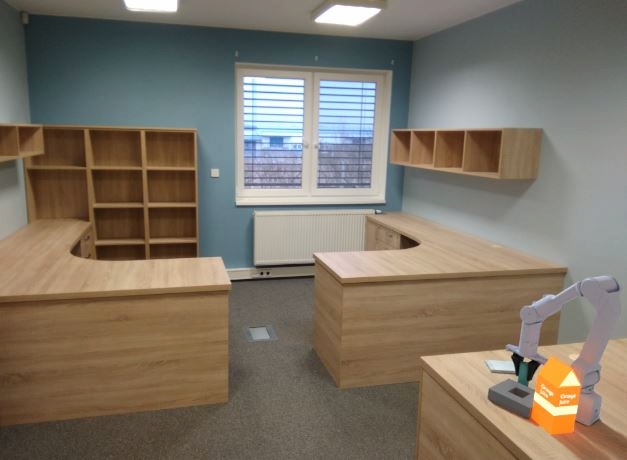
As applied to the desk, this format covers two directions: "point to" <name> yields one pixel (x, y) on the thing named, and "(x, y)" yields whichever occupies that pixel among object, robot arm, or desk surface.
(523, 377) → the peg
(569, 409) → the orange juice
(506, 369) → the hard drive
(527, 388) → the socket block
